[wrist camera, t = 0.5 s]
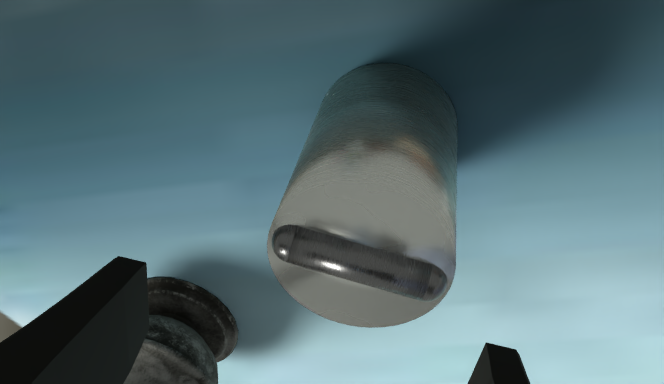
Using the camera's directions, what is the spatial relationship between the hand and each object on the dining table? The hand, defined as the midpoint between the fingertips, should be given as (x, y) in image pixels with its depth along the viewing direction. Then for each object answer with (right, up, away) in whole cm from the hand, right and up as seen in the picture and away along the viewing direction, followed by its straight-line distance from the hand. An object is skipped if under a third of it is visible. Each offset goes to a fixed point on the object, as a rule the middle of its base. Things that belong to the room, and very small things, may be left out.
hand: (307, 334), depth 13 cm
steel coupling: (+2, +5, +7) cm, 9 cm away
